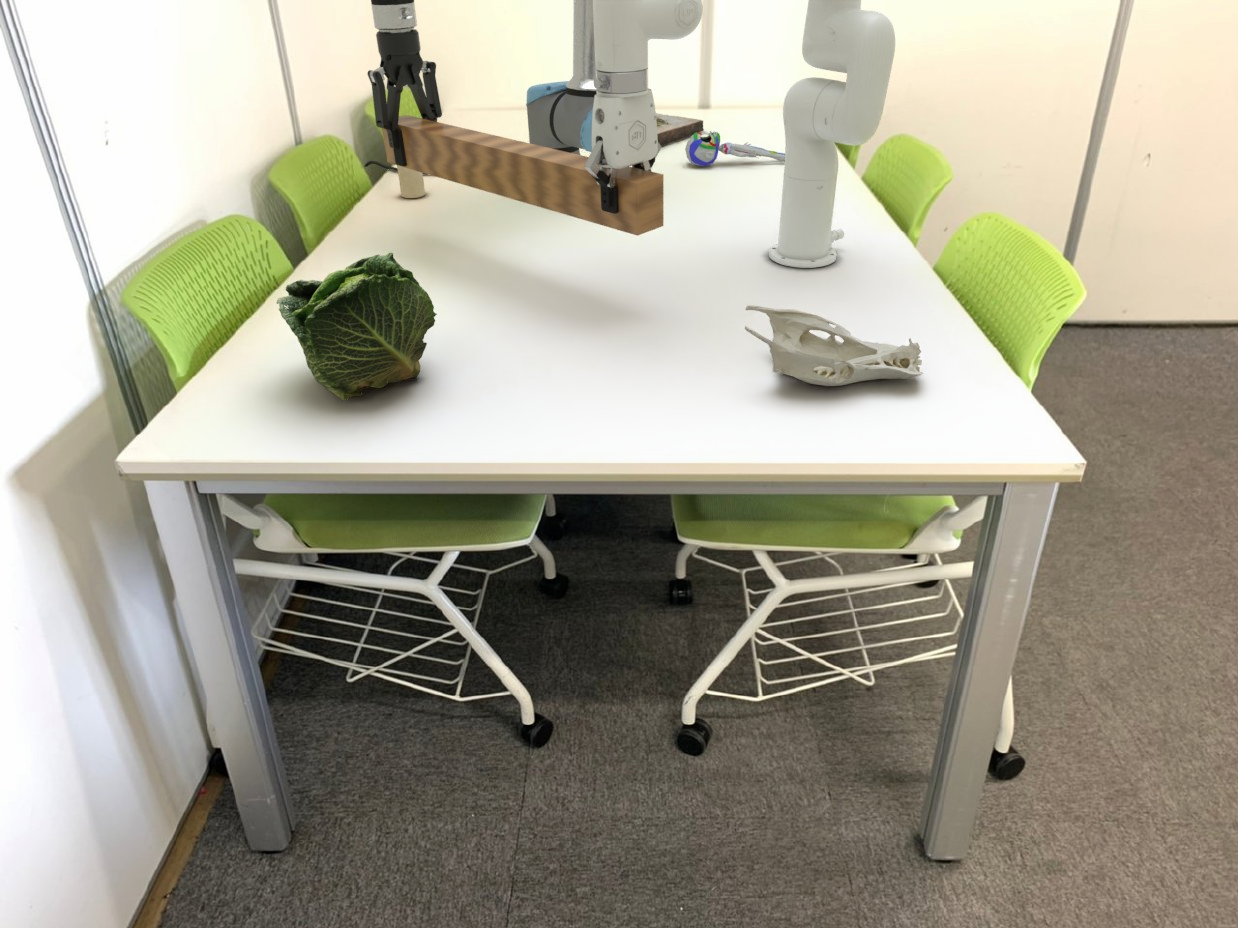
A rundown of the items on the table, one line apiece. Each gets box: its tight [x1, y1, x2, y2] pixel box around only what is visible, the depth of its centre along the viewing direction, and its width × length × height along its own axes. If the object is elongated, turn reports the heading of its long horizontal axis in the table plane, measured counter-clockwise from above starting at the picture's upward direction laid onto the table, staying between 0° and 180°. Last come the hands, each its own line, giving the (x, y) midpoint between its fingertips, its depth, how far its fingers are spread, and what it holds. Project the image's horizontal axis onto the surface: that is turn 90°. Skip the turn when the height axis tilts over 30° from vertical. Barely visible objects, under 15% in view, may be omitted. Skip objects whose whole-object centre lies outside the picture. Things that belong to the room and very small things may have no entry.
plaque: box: [656, 112, 705, 148], centre depth 257 cm, size 30×7×30 cm
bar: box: [381, 114, 664, 237], centre depth 155 cm, size 67×6×8 cm, turn 46°
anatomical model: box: [744, 304, 924, 387], centre depth 126 cm, size 15×9×25 cm
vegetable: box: [276, 251, 438, 401], centre depth 124 cm, size 20×19×20 cm
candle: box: [396, 165, 426, 199], centre depth 207 cm, size 6×6×10 cm
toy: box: [684, 130, 785, 167], centre depth 229 cm, size 10×8×30 cm
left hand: (415, 161), depth 173 cm, fingers closed on bar, 6 cm apart
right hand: (625, 205), depth 139 cm, fingers closed on bar, 6 cm apart
